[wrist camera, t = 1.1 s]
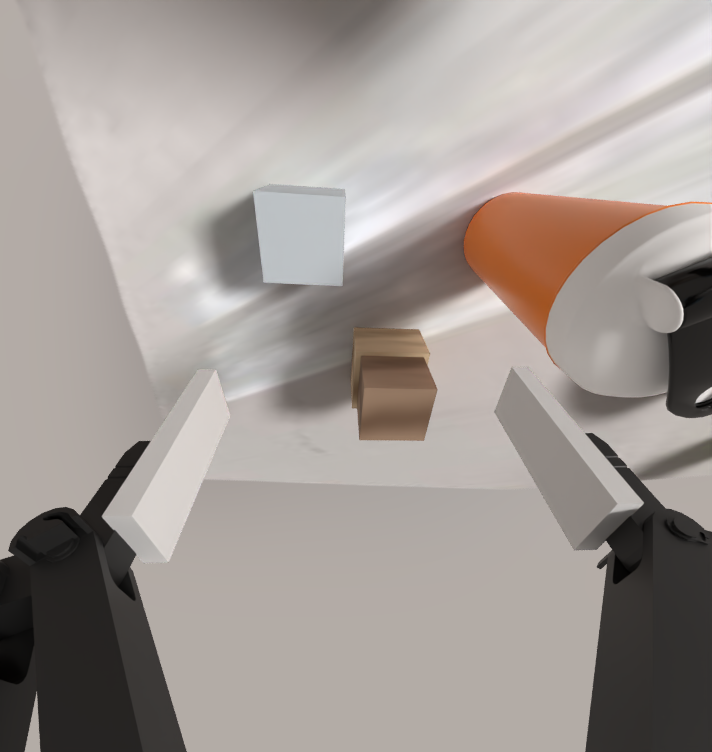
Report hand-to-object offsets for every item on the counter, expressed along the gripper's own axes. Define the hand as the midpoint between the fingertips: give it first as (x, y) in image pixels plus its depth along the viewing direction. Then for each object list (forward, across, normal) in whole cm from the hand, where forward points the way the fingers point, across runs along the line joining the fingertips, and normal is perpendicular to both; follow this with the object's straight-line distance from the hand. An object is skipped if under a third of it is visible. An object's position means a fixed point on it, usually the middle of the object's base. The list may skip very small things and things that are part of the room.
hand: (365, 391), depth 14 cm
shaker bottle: (+19, +13, +3) cm, 23 cm away
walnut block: (+13, +3, -10) cm, 17 cm away
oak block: (+18, +3, -10) cm, 21 cm away
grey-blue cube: (+18, -4, +4) cm, 19 cm away
